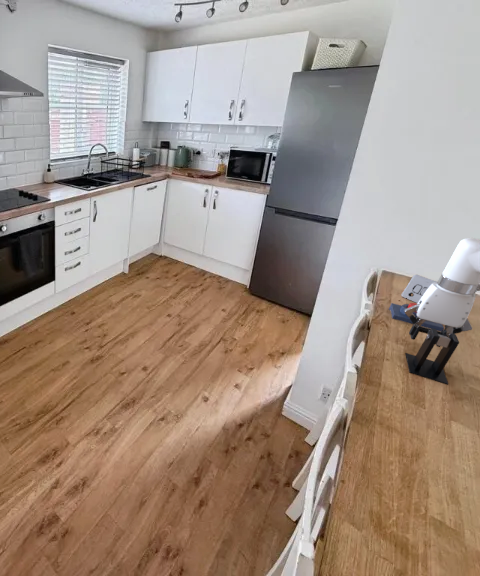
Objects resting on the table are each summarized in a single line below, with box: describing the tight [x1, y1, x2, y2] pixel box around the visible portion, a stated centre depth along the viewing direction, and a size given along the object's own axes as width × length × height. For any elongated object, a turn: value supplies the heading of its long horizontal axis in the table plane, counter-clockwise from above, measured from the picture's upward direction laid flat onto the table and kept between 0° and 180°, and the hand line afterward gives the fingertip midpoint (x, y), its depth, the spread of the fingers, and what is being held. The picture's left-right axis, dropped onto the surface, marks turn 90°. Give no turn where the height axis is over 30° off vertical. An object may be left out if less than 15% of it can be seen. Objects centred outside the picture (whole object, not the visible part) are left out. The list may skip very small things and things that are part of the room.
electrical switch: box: [401, 274, 438, 304], centre depth 134 cm, size 9×5×9 cm, turn 28°
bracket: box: [404, 328, 460, 386], centre depth 97 cm, size 10×8×12 cm
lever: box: [419, 326, 451, 348], centre depth 99 cm, size 13×5×2 cm, turn 149°
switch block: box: [388, 302, 445, 332], centre depth 122 cm, size 13×10×4 cm
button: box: [407, 302, 417, 312], centre depth 122 cm, size 4×4×2 cm
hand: (424, 340), depth 106 cm, fingers closed on lever, 5 cm apart
